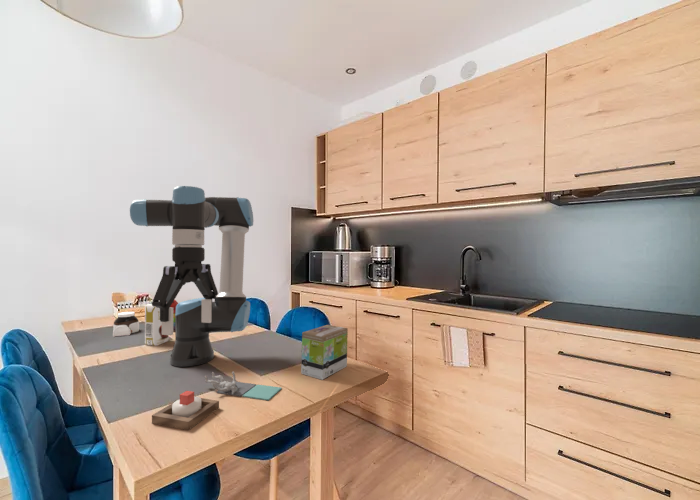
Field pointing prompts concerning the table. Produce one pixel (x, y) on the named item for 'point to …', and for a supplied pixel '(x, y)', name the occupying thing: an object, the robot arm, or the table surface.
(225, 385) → the soldier figure
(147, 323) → the juice carton
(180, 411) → the white and red button
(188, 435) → the table surface
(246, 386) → the dark grey square tile
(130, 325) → the spread jar
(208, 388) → the table surface
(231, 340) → the table surface
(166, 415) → the frame
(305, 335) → the tea box
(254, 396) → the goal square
